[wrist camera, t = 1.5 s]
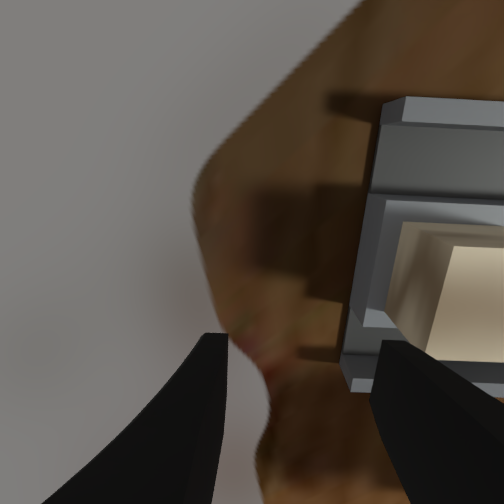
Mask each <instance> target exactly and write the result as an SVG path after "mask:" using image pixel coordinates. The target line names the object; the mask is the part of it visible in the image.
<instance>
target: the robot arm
mask: <svg viewBox="0 0 504 504" xmlns="http://www.w3.org/2000/svg"><path fill="white" fill-rule="evenodd" d="M227 366H228V334H227V333H205V334H203V335H202V336H201V337H200V339H199V341H198V342H197V344H196V345H195V347H194V348H193V349H192V351H191V352H190V354H189V355H188V356H187V358H186V359H185V360H184V362H183V363H182V364H181V366H180V367H179V368H178V369H177V371H176V372H175V373H174V374H173V375H172V377H171V378H170V379H169V380H168V382H167V383H166V384H165V385H164V386H163V388H162V389H161V390H160V391H159V392H158V393H157V395H156V396H155V397H154V398H153V399H152V400H151V401H150V402H149V403H148V404H147V405H146V407H145V408H144V409H143V410H142V411H141V412H140V413H139V414H138V415H137V416H136V417H135V418H134V419H133V420H132V422H131V423H130V424H129V425H128V426H127V427H126V428H125V429H124V430H123V431H122V432H121V433H120V434H119V435H118V436H117V437H116V438H115V439H114V440H113V441H111V442H110V443H109V444H108V445H107V446H106V447H105V448H104V449H103V450H102V451H101V452H100V453H99V454H98V455H97V456H96V457H94V458H93V459H92V460H91V461H90V462H89V463H88V464H87V465H86V466H85V467H83V468H82V469H81V470H80V471H79V472H78V473H77V474H75V475H74V476H73V477H72V478H71V479H70V480H68V481H67V482H66V483H65V484H64V485H63V486H62V487H61V488H59V489H58V490H57V491H56V492H55V493H54V494H53V495H51V496H50V497H49V498H48V499H46V500H45V501H44V502H43V503H42V504H211V502H212V497H213V491H214V486H215V480H216V474H217V469H218V463H219V457H220V452H221V446H222V440H223V434H224V422H225V410H226V397H227ZM369 402H370V405H371V408H372V411H373V415H374V418H375V421H376V424H377V427H378V430H379V433H380V436H381V439H382V441H383V444H384V446H385V448H386V450H387V453H388V455H389V457H390V459H391V461H392V464H393V466H394V468H395V470H396V473H397V475H398V477H399V479H400V481H401V483H402V486H403V488H404V490H405V492H406V494H407V496H408V499H409V501H410V503H411V504H504V404H503V403H502V402H500V401H499V400H497V399H495V398H494V397H492V396H491V395H489V394H488V393H486V392H485V391H483V390H481V389H480V388H478V387H477V386H475V385H474V384H472V383H471V382H469V381H468V380H466V379H465V378H463V377H462V376H460V375H459V374H457V373H456V372H454V371H453V370H451V369H450V368H448V367H447V366H445V365H444V364H442V363H440V362H439V361H437V360H436V359H434V358H433V357H431V356H430V355H428V354H427V353H425V352H424V351H422V350H420V349H419V348H417V347H415V346H414V345H412V344H410V343H408V342H407V341H405V340H382V343H381V348H380V352H379V357H378V362H377V366H376V371H375V375H374V380H373V385H372V389H371V394H370V399H369Z"/></svg>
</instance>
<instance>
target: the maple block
mask: <svg viewBox="0 0 504 504" xmlns="http://www.w3.org/2000/svg"><path fill="white" fill-rule="evenodd" d="M384 312H385V313H386V314H387V316H388V317H389V318H390V319H391V321H392V322H393V323H394V324H395V325H396V327H397V328H398V329H399V330H400V332H401V333H402V334H403V335H404V337H405V338H406V339H407V340H408V341H409V343H410V344H412V345H414V346H415V347H417V348H419V349H420V350H422V351H424V352H425V353H427V354H428V355H430V356H431V357H433V358H434V359H436V360H451V361H477V362H503V363H504V226H488V225H467V224H446V223H425V222H403V224H402V229H401V234H400V238H399V243H398V248H397V253H396V257H395V262H394V267H393V272H392V276H391V281H390V286H389V291H388V295H387V300H386V305H385V310H384Z"/></svg>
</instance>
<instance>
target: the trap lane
mask: <svg viewBox="0 0 504 504" xmlns="http://www.w3.org/2000/svg"><path fill="white" fill-rule="evenodd" d="M403 222H425V223H446V224H467V225H488V226H504V102H500V101H482V100H464V99H446V98H428V97H410V96H406V97H403V98H400V99H397V100H394V101H391V102H388V103H384V104H383V106H382V112H381V118H380V124H379V130H378V136H377V142H376V148H375V154H374V160H373V166H372V172H371V178H370V184H369V190H368V196H367V202H366V207H365V213H364V219H363V225H362V231H361V237H360V243H359V249H358V255H357V261H356V267H355V273H354V279H353V285H352V291H351V297H350V303H349V309H348V315H347V321H346V326H345V332H344V338H343V344H342V350H341V356H340V362H339V365H340V367H341V370H342V372H343V375H344V377H345V380H346V382H347V384H348V387H349V389H350V392H367V393H371V389H372V385H373V380H374V375H375V371H376V366H377V362H378V357H379V352H380V348H381V343H382V340H405V341H407V342H408V343H409V341H408V340H407V339H406V338H405V337H404V335H403V334H402V333H401V332H400V330H399V329H398V328H397V327H396V325H395V324H394V323H393V322H392V321H391V319H390V318H389V317H388V316H387V314H386V313H385V312H384V310H385V305H386V300H387V295H388V291H389V286H390V281H391V276H392V272H393V267H394V262H395V257H396V253H397V248H398V243H399V238H400V234H401V229H402V224H403ZM437 361H439V362H440V363H442V364H444V365H445V366H447V367H448V368H450V369H451V370H453V371H454V372H456V373H457V374H459V375H460V376H462V377H463V378H465V379H466V380H468V381H469V382H471V383H472V384H474V385H475V386H477V387H478V388H480V389H481V390H483V391H485V392H486V393H488V394H489V395H491V396H492V397H504V363H503V362H477V361H451V360H437Z"/></svg>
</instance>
